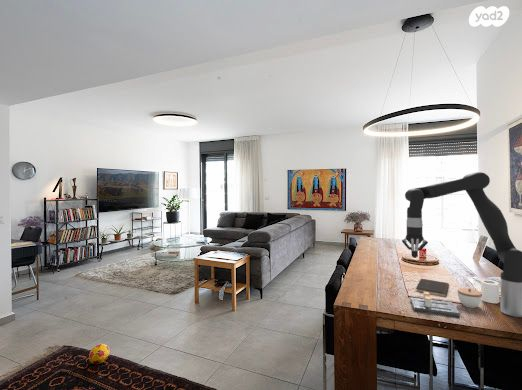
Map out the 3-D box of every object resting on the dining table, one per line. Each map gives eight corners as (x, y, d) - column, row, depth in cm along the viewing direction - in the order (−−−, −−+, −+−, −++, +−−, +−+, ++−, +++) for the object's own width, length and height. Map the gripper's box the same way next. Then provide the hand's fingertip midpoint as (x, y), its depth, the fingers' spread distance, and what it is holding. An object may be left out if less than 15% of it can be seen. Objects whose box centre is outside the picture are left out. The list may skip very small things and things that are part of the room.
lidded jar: (471, 301, 156) (471, 284, 156) (487, 309, 145) (487, 291, 145) (452, 301, 156) (452, 285, 155) (467, 310, 145) (467, 292, 145)
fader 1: (428, 300, 152) (428, 292, 152) (429, 302, 149) (429, 294, 149) (423, 299, 153) (423, 291, 153) (424, 301, 150) (424, 293, 150)
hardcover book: (415, 291, 172) (415, 288, 172) (421, 281, 191) (421, 278, 191) (446, 297, 163) (446, 293, 163) (448, 286, 181) (448, 283, 181)
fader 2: (430, 305, 146) (430, 296, 146) (431, 307, 143) (431, 299, 143) (424, 304, 147) (424, 296, 147) (425, 306, 144) (425, 298, 144)
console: (452, 305, 150) (452, 301, 150) (459, 317, 137) (459, 312, 137) (410, 300, 158) (410, 296, 158) (414, 311, 145) (414, 306, 145)
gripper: (427, 225, 150) (427, 256, 150) (400, 224, 155) (400, 255, 155) (429, 227, 143) (429, 260, 143) (401, 226, 148) (401, 258, 148)
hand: (414, 257), depth 149 cm, fingers closed
